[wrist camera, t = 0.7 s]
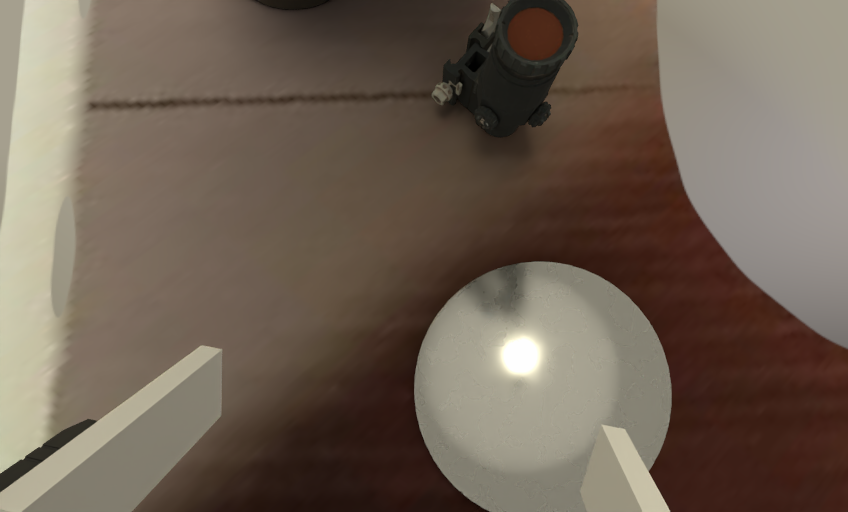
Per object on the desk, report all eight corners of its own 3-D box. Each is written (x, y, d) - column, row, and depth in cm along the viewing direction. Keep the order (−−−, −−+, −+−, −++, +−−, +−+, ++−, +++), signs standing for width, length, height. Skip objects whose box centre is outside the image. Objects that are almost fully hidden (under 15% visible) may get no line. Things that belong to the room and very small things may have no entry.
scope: (507, -74, 27) (624, 18, 27) (480, 49, 41) (557, 111, 40) (428, 13, 27) (545, 109, 26) (427, 108, 41) (504, 172, 40)
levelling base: (427, 253, 39) (427, 249, 36) (655, 276, 39) (677, 274, 35) (403, 489, 37) (401, 509, 34) (642, 515, 37) (665, 538, 34)
